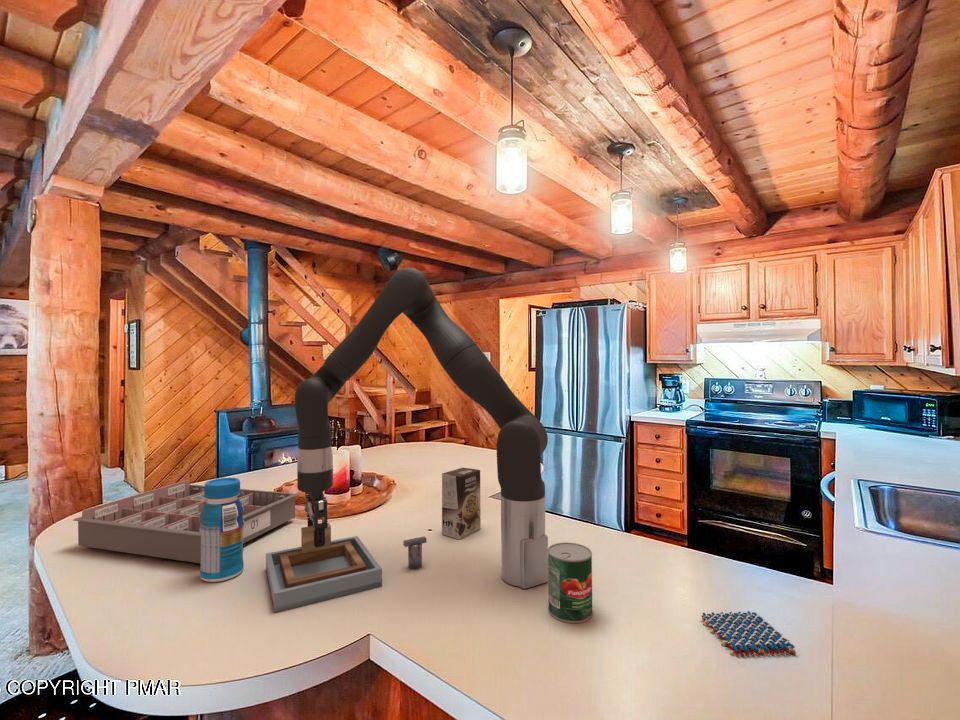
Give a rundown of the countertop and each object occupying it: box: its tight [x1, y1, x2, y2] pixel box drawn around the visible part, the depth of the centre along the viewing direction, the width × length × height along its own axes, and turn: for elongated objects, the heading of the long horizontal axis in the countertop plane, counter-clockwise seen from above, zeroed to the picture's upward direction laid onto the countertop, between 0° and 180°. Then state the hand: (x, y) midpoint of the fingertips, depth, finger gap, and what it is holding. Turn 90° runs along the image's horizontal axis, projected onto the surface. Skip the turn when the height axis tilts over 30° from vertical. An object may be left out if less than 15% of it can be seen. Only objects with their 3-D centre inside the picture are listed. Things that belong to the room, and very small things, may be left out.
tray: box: [265, 535, 383, 614], centre depth 98 cm, size 20×20×4 cm
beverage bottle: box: [199, 477, 244, 583], centre depth 100 cm, size 8×8×20 cm
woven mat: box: [699, 610, 797, 657], centre depth 76 cm, size 10×11×2 cm
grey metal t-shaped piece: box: [402, 536, 428, 570], centre depth 103 cm, size 3×5×6 cm, turn 119°
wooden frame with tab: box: [280, 522, 367, 589], centre depth 98 cm, size 15×15×8 cm
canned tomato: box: [547, 541, 594, 624], centre depth 84 cm, size 8×8×11 cm
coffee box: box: [441, 467, 482, 540], centre depth 123 cm, size 9×6×16 cm
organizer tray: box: [72, 479, 299, 564], centre depth 122 cm, size 32×40×10 cm
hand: (316, 539), depth 104 cm, fingers open, 8 cm apart
